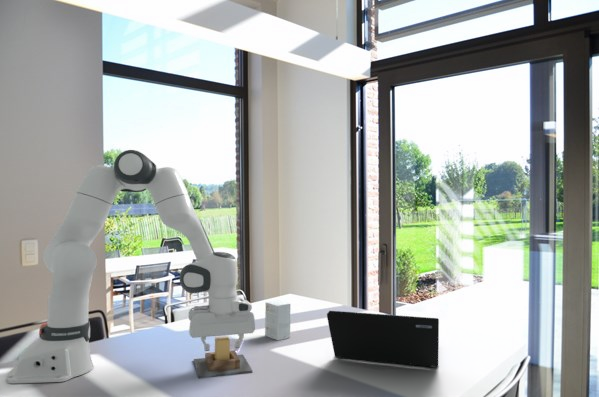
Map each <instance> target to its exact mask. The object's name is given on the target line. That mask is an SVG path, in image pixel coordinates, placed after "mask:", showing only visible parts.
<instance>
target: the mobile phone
mask: <svg viewBox="0 0 599 397" xmlns="http://www.w3.org/2000/svg"><path fill="white" fill-rule="evenodd" d="M229 340H230V351H234V350H235V352H236V354H237V355H238V354H239V352H240V350H241V348H242V346H243V344H244V341H245V340H244V338H243V339H242V341H241V343H240V348H235V341H237V340H238V338H229Z"/></svg>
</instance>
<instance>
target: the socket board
mask: <svg viewBox="0 0 599 397" xmlns="http://www.w3.org/2000/svg"><path fill="white" fill-rule="evenodd" d="M193 364H194V367H195V370H196V374H197V377H198V379H203V378H212V377H221V376H231V375H241V374H249V373H253V369H252V367H251V366H250V364H249V362H248V361H247V359H246V357H245V355H244V354H238V353H237V354H236V352H235V350H234V351H230V359H228V360H218V361H215V351H213V352H204V357H202V358H200V357H199V358H193Z"/></svg>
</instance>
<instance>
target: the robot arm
mask: <svg viewBox="0 0 599 397" xmlns="http://www.w3.org/2000/svg"><path fill="white" fill-rule="evenodd" d="M145 191H147V192H149V194H150V195H151V197H152V201H153V203H154V206H155V208H156V209H155V210H156V212H157V215H158V217H159V219H160V220H161V223H162V224H164V225H165V226H166V227H168V228H169V229H173V230H175V231H177V232H178V233H180V234H182V235H183V236H184V237H185V238H186V239H187V241H188V243H189V245H190V246H191V249H192V252H193V254H194V256H195V258H196V261H194V262H190V263H188V264H186V265H185V266H184V267H183V268H181V270H180V273H179V283H180V287H182V289H183V290H184V291H185V292H187V293H189V294H199V293H203V292H206V293H208V305H200V306H199V305H198V306H197V305H196V306H193V307H191V308H190V309H189V311H188V320H189V321H190V322H189V328H188V332H189V336H190V337H191V338H193V339H195V338H196V339H197V338H200V341H201V342H202V343H203V347H204V349H203V350H204V352H209V351H210V350H211V349H210V348H211V347H210V346H211V345H210V343H207V342H206V340H207V338H209V337H223V336H232V335H233V336H234V335H238V338H237V339H238V340H237V341H235V348H240V343H241V341H242V339H243V340H244V334H246V335H247V334H253V333H254V332H255V331H256V321H255V316H254V315H255V314H254V312H252V308H253V306H252V303H251V302H249V301H248V300H247V299H244V298H243V299H242V298H239V297H238V291H237V285H238V279H239V278H238V263H237V260H236V258H235V255H233V254H231V253H228V252H223V251H215V250H214V248H213V245H212V243H211V240H210V239H209V237H208V236H209V235H208V234H207V231H206V229H205V228H204V226H203V224H202V222H201V220H200V218H199V216H198V215H197V212H196V210H195V208H194V205H193V202H192V200H191V198H190V195H189V192H188V189H187V187H186V184H185V183H184V180H183V178H182V177H181V175H180V173H179V172H178V170H177V169H175V168H173V167H170V166H169V167H168V166H165V167H160V168H158V167H157V165H156V164H155V163H154V162H153V161H152V160H151V159H150V158H149V157H147V155H145V154H144V153H142V152H140V150H139V151H138V150H135V149H128V150H123V151H122V152H120V153H119V154H118V155H117V157H116V158H115V160H114V162H113V166H107V165H103V164H97V165H93V166H91V167H90V168H89V170H87V172H86V173H85V174H84V177H83V178H82V179H81V182H80V184H79V186H78V188H77V190H76V192H75V195H74V197H73V198H72V201H71V202H70V206H69V208H68V210H67V212H66V215H65V216H64V218H63V221H62V222H61V223H60V225H59V227H58V228H57V230H56V232H55V233H54V235H53V237H52V238H51V240H50V242H49V243H48V245H47V246H46V247H45V249H44V251H43V254H42V261H43V263H44V266H45V267H46V269H47V270H48V271H49V272H50V273H52V282H51V287H50V292H49V295H48V296H47V317H46V318H47V322H43V323H42V324H41V325H40V328H39V333H38V336H39V338H38V339H36V341H34V342H32V343H31V344H30V345H29V346H28V347H26V348H25V349H24V350H23V351H21V353H20V354H19V355H18V356H19V357H18V358H17V362H16V366H15V367H13V368H12V369H11V370H10V371H9V372H8V373H7V374H6V379H5V380H6V382H7V383H8V384H35V383H36V384H37V383H39V384H41V383H62V382H66V381H69V380H71V379H72V378H75V377H78V376H81V375H85V374H87V373H89V372H90V371H92V370H93V368H94V363H93V360H92V356H91V350H90V349H91V348H90V338H91V324H90V322H91V321H90V320H89V309H90V308H89V304H90V303H89V299H90V291H91V288H92V287H91V286H92V281H93V276H94V272H95V270H96V268H97V267H98V266H97V265H98V257H97V255H96V253H95V251H94V250H93V249H92V248H91V245H92V244H93V242H94V240H95V239H96V238H97V236H98V234H99V233H100V232H101V231H102V230H103V229H104V227H105V223H106V221H107V218H108V217H109V214H110V212H111V209H112V207H113V204H114V201H115V199H116V197H117V195H118V193H120V192H125V193H128V192H130V193H141V192H142V193H143V192H145ZM240 349H241V348H240Z"/></svg>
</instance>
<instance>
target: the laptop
mask: <svg viewBox="0 0 599 397" xmlns="http://www.w3.org/2000/svg"><path fill="white" fill-rule="evenodd" d="M326 319H327V323H328V328H329V333H330V339H331V344H332V347H333V348H332V349H333V354H334V357H336V358H338V359H349V360H359V361H366V362H367V361H369V362H377V363H387V364H388V363H389V364H398V365H407V366H416V367H417V366H419V367H420V366H421V367H429V368H437V367H439V340H440V339H439V338H440V337H439V332H440V331H439V327H440V326H439V324H440V321H439V318H438V317H437V318H436V317H427V316H426V317H423V316H410V315H409V316H408V315H396V314H385V313H384V314H383V313H382V314H381V313H370V312H369V313H367V312H356V311H355V312H353V311H340V310H328V312H327V313H326Z"/></svg>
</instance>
